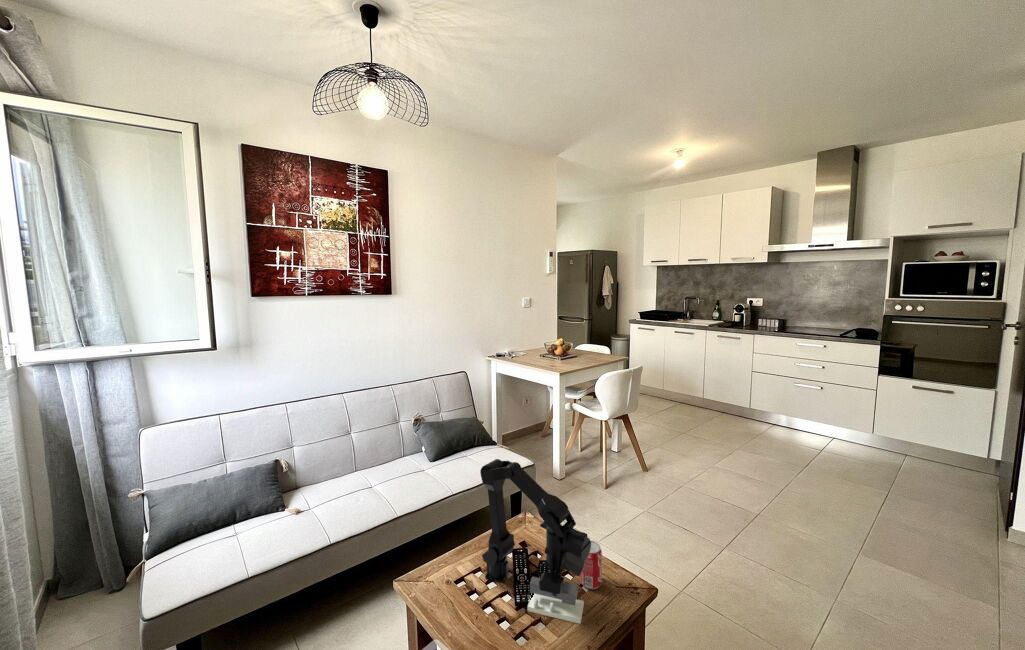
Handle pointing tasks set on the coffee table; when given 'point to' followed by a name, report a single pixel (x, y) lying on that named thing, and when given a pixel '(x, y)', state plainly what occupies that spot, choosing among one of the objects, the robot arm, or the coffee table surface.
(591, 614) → the coffee table surface
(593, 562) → the soda can
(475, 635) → the coffee table surface
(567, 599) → the grey t-shaped plate
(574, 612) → the rack
